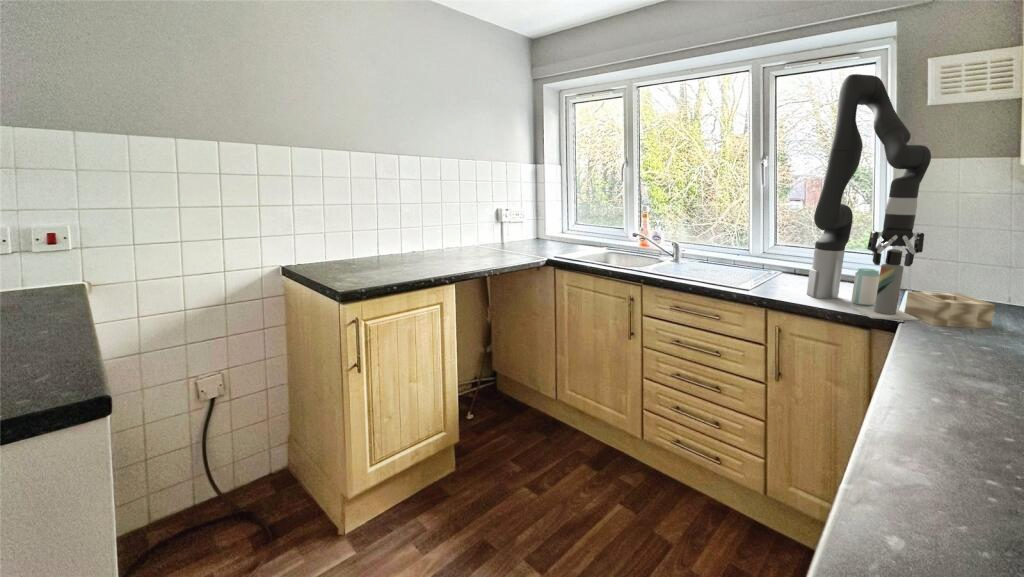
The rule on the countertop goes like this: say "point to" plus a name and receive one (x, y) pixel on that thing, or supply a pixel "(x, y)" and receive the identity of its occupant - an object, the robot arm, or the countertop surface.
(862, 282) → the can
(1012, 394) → the countertop surface
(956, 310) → the pocket holder
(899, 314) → the grey mat
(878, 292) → the lotion bottle
